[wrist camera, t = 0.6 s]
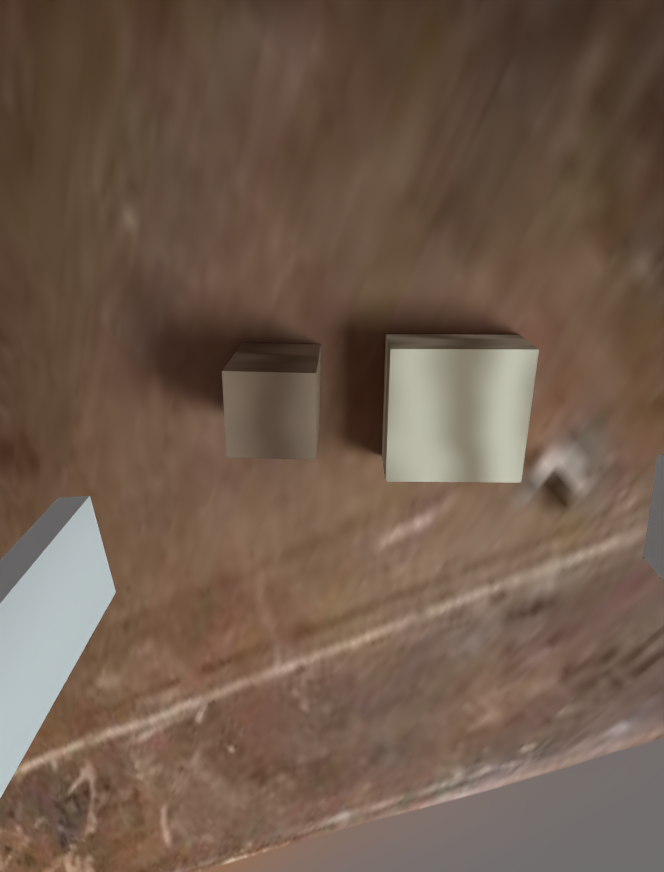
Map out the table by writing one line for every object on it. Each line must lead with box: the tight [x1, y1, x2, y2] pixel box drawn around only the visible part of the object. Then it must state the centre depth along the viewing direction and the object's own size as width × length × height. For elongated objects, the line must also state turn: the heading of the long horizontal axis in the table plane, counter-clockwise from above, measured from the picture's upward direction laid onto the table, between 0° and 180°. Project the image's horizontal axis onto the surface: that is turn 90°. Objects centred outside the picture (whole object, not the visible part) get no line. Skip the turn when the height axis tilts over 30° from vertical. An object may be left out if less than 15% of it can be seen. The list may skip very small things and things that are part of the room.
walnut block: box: [222, 343, 321, 460], centre depth 42 cm, size 6×6×8 cm
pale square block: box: [382, 334, 539, 482], centre depth 44 cm, size 10×10×5 cm
